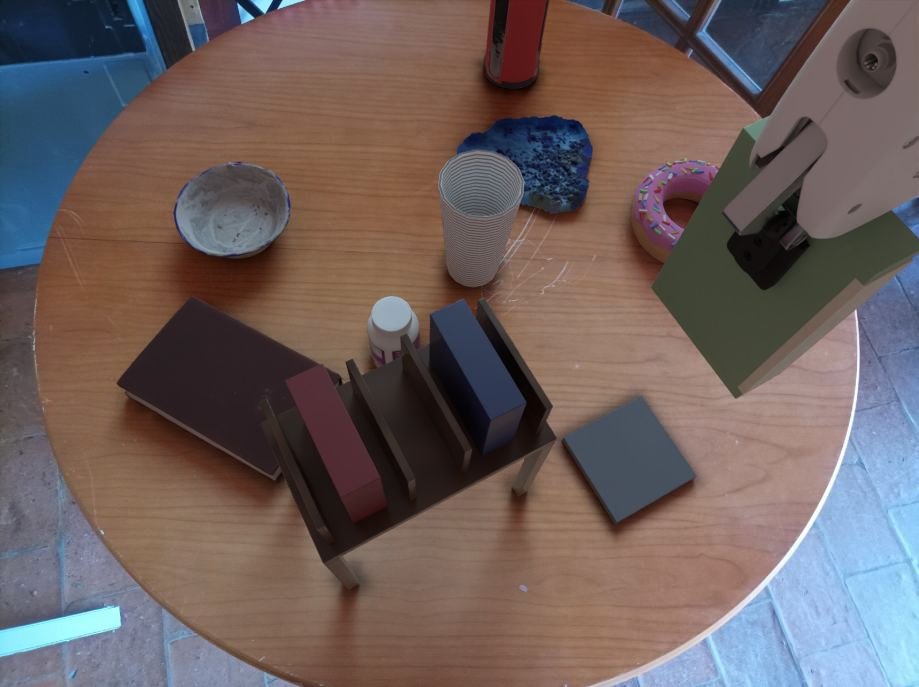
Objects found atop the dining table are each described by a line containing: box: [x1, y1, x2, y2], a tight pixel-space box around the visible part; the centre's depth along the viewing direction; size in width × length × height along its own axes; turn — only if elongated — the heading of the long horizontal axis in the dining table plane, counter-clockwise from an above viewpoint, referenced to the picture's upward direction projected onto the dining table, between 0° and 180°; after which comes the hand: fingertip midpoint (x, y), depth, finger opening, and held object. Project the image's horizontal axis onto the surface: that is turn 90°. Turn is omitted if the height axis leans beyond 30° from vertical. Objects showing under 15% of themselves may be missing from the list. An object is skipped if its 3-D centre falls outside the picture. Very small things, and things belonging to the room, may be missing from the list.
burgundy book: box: [285, 362, 387, 524], centre depth 50 cm, size 9×3×8 cm, turn 29°
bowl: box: [172, 161, 291, 260], centre depth 81 cm, size 13×13×5 cm
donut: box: [630, 157, 720, 264], centre depth 84 cm, size 14×14×5 cm
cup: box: [437, 150, 524, 288], centre depth 75 cm, size 8×8×16 cm
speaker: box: [482, 0, 550, 90], centre depth 88 cm, size 8×8×18 cm
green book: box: [650, 115, 919, 400], centre depth 38 cm, size 9×3×15 cm, turn 29°
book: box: [116, 295, 344, 484], centre depth 73 cm, size 12×19×3 cm, turn 61°
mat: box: [561, 395, 698, 525], centre depth 73 cm, size 10×10×1 cm
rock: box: [454, 114, 594, 215], centre depth 88 cm, size 15×17×2 cm
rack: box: [259, 297, 558, 591], centre depth 60 cm, size 12×20×24 cm, turn 119°
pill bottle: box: [366, 295, 421, 368], centre depth 73 cm, size 5×5×10 cm
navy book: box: [428, 298, 526, 456], centre depth 52 cm, size 9×3×8 cm, turn 28°
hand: (777, 250), depth 36 cm, fingers closed on green book, 3 cm apart
